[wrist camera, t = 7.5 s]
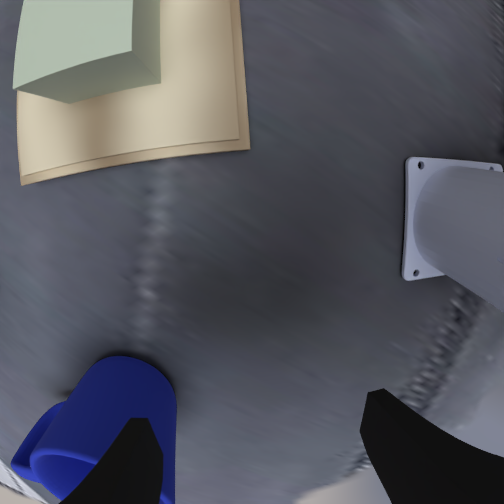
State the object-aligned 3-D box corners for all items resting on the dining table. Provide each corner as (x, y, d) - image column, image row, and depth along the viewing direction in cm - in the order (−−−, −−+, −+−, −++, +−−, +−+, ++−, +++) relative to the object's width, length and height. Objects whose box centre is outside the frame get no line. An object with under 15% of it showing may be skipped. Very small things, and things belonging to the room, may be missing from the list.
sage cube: (160, -1, 11) (137, -52, 7) (161, 83, 13) (131, 50, 8) (72, 22, 11) (27, -13, 6) (68, 104, 13) (12, 89, 8)
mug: (31, 354, 19) (-31, 438, 10) (161, 330, 19) (123, 453, 10) (79, 427, 22) (46, 512, 12) (203, 416, 22) (198, 528, 12)
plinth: (233, -41, 13) (234, -62, 10) (247, 150, 16) (251, 148, 14) (43, 3, 12) (25, -9, 10) (38, 182, 16) (16, 186, 13)
